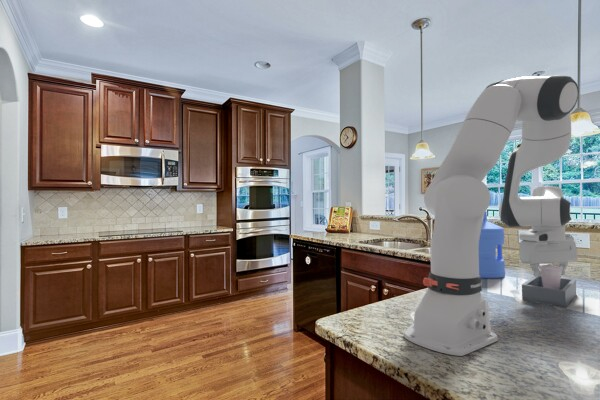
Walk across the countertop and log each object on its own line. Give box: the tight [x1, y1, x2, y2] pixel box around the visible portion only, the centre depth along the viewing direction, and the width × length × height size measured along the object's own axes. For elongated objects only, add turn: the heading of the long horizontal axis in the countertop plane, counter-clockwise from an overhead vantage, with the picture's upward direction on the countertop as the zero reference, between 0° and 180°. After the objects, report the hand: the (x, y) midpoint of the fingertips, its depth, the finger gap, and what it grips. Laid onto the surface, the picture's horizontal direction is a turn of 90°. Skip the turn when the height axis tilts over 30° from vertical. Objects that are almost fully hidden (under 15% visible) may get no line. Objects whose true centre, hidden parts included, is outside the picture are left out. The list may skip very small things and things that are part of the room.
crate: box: [521, 275, 577, 309], centre depth 105 cm, size 20×11×5 cm, turn 132°
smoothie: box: [538, 263, 563, 290], centre depth 105 cm, size 6×6×14 cm
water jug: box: [479, 211, 506, 279], centre depth 138 cm, size 16×16×28 cm
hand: (549, 275), depth 105 cm, fingers open, 8 cm apart
